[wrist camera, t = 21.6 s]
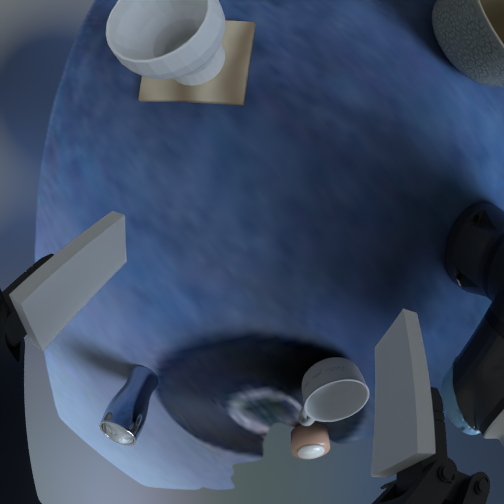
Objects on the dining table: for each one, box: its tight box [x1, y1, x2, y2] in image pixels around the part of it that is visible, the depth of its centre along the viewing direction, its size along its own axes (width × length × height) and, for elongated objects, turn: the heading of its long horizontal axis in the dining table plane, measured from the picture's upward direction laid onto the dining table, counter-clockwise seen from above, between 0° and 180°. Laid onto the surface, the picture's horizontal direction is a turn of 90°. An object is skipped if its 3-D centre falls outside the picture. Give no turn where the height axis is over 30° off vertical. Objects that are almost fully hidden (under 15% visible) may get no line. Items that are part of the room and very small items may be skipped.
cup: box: [106, 0, 225, 86], centre depth 24 cm, size 11×11×15 cm
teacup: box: [299, 357, 369, 426], centre depth 45 cm, size 14×11×8 cm
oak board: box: [138, 20, 255, 106], centre depth 32 cm, size 14×12×2 cm
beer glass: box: [99, 366, 158, 445], centre depth 44 cm, size 7×7×15 cm
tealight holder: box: [291, 423, 330, 459], centre depth 52 cm, size 8×8×6 cm
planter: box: [432, 0, 504, 86], centre depth 20 cm, size 17×17×15 cm
